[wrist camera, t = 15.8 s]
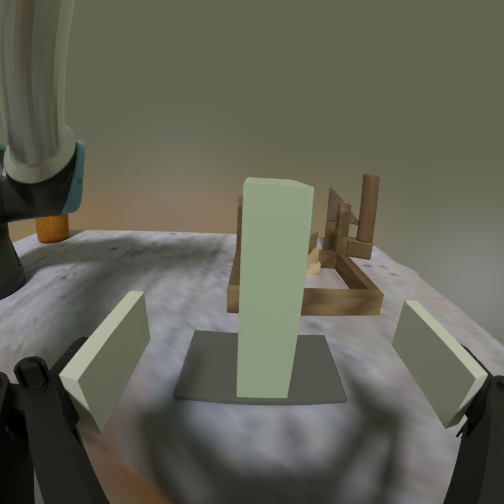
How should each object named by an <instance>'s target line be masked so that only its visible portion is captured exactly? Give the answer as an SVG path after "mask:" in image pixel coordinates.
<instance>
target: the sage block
mask: <svg viewBox="0 0 504 504" xmlns="http://www.w3.org/2000/svg"><path fill="white" fill-rule="evenodd" d="M243 188H244V189H243V211H242V236H241V263H240V293H239V325H238V361H237V397H251V398H287V396H288V390H289V384H290V379H291V373H292V367H293V361H294V355H295V349H296V342H297V336H298V329H299V322H300V315H301V308H302V300H303V292H304V284H305V276H306V267H307V258H308V249H309V239H310V229H311V218H312V205H313V194H314V188H313V187H311V186H308V185H306V184H303V183H300V182H297V181H295V180H285V179H269V178H250V177H248V178H247V179H246V181H245V182H244V187H243Z"/></svg>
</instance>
